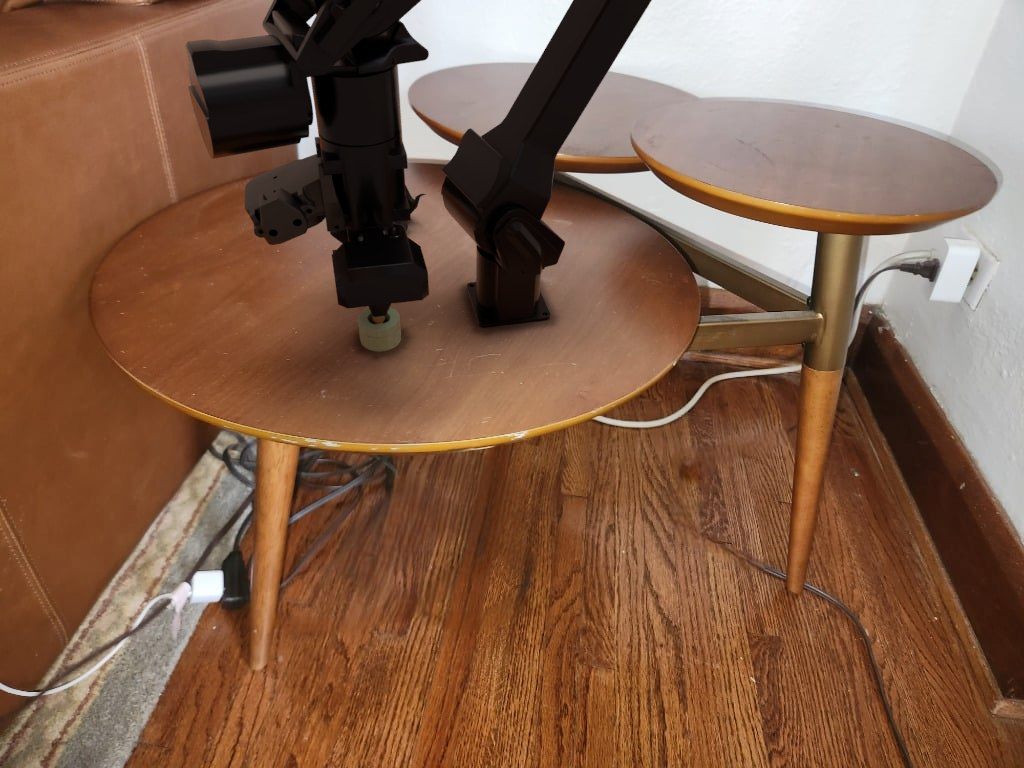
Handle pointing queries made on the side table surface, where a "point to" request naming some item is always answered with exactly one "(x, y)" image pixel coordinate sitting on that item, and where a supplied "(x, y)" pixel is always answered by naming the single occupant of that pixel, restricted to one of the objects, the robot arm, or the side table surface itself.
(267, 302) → the side table surface
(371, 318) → the pale green thick ring
